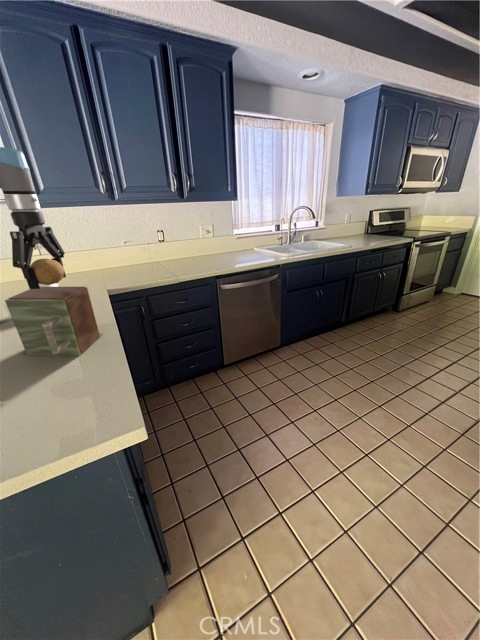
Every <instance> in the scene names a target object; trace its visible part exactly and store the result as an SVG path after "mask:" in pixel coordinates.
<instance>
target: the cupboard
mask: <svg viewBox="0 0 480 640" xmlns="http://www.w3.org/2000/svg"><path fill="white" fill-rule="evenodd" d="M7 299H63V300H65V303H66V306H67V309H68V312H69V316H70V319H71V322H72V325H73V329H74V332H75V335H76V338H77V342H78V345H79V348H80V352H81V355H83V354H84V353H85V352H86V351H87V350H88V349H89V348H90V347H91V346H92V345H93V344H95V343H96V342H97V341H98V340H99V339H100V338H101V335H100V331H99V328H98V324H97V320H96V317H95V313H94V308H93V305H92V301H91V297H90V293H89V290H88V286H58V287H40V289H30V288H28V289H27V290H25V291H23V292H20V293H17V294H15V295H13V296H10V297H8V298H7Z"/></svg>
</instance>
